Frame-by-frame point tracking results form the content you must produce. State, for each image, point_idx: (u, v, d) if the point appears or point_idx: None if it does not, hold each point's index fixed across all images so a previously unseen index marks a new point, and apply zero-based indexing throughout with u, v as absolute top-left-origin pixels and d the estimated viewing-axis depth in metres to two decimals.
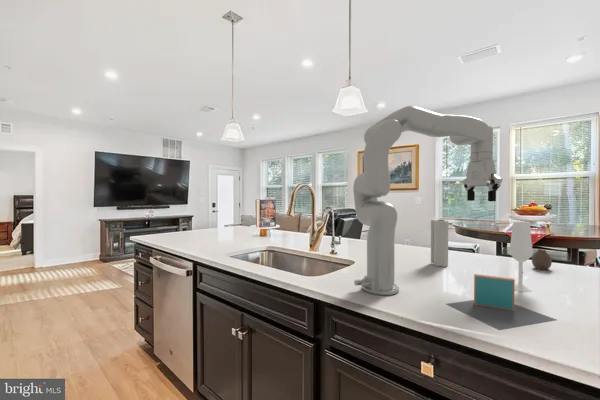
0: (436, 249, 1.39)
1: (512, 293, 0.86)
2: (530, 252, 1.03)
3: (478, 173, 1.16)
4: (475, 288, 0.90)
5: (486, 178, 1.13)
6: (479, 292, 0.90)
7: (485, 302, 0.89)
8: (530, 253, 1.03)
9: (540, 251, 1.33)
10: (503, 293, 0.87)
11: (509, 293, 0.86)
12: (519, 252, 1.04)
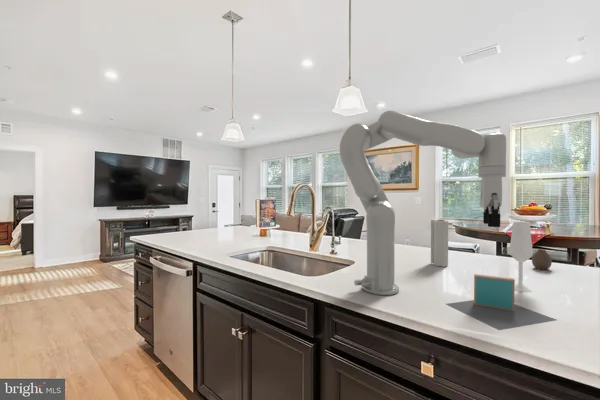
0: (436, 249, 1.39)
1: (512, 293, 0.86)
2: (530, 252, 1.03)
3: (482, 192, 0.97)
4: (475, 288, 0.90)
5: (484, 198, 0.94)
6: (479, 292, 0.90)
7: (485, 302, 0.89)
8: (530, 253, 1.03)
9: (540, 251, 1.33)
10: (503, 293, 0.87)
11: (509, 293, 0.86)
12: (519, 252, 1.04)
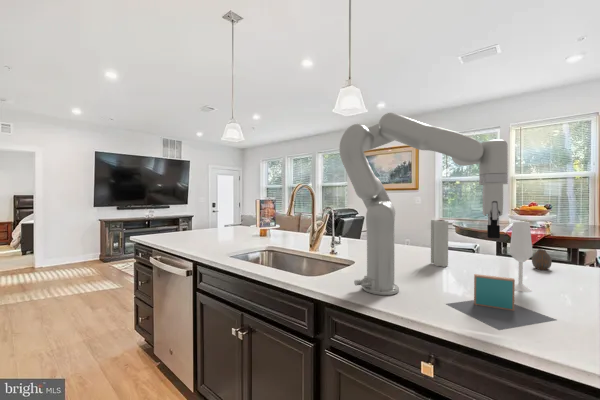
0: (436, 249, 1.39)
1: (512, 293, 0.86)
2: (530, 252, 1.03)
3: (483, 200, 0.94)
4: (475, 288, 0.90)
5: (484, 207, 0.91)
6: (479, 292, 0.90)
7: (485, 302, 0.89)
8: (530, 253, 1.03)
9: (540, 251, 1.33)
10: (503, 293, 0.87)
11: (509, 293, 0.86)
12: (519, 252, 1.04)
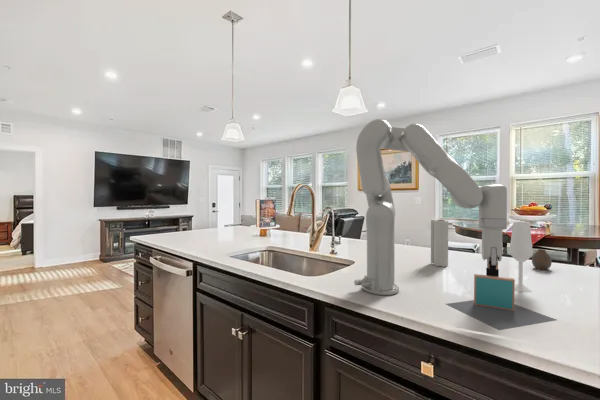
0: (436, 249, 1.39)
1: (512, 293, 0.86)
2: (530, 252, 1.03)
3: (482, 243, 0.95)
4: (475, 288, 0.90)
5: (484, 252, 0.92)
6: (479, 292, 0.90)
7: (485, 302, 0.89)
8: (530, 253, 1.03)
9: (540, 251, 1.33)
10: (503, 293, 0.87)
11: (509, 293, 0.86)
12: (519, 252, 1.04)
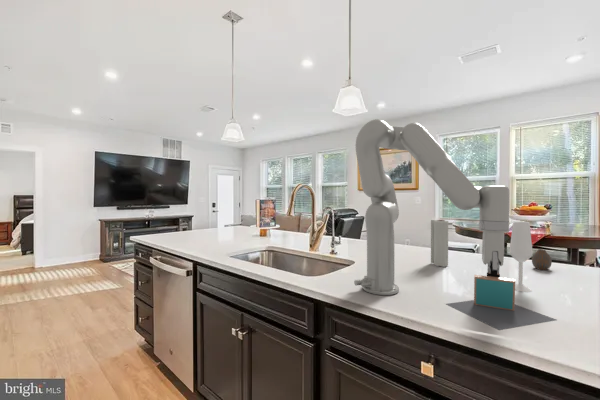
0: (436, 249, 1.39)
1: (512, 294, 0.85)
2: (530, 252, 1.03)
3: (483, 247, 0.90)
4: (475, 289, 0.90)
5: (484, 256, 0.87)
6: (479, 293, 0.89)
7: (485, 302, 0.89)
8: (530, 253, 1.03)
9: (540, 251, 1.33)
10: (503, 294, 0.86)
11: (509, 295, 0.85)
12: (519, 252, 1.04)
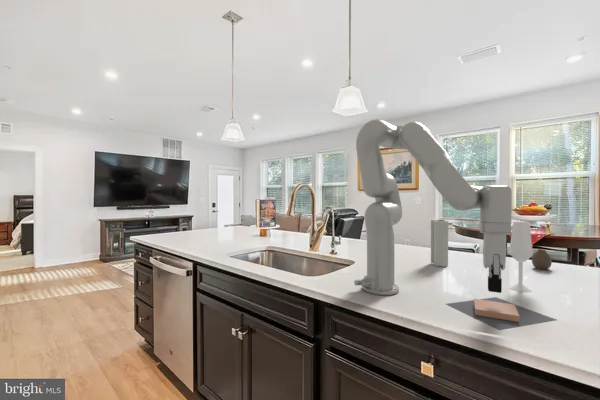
0: (436, 249, 1.39)
1: None
2: (530, 252, 1.03)
3: (483, 250, 0.86)
4: None
5: (485, 259, 0.83)
6: None
7: None
8: (530, 253, 1.03)
9: (540, 251, 1.33)
10: None
11: None
12: (519, 252, 1.04)
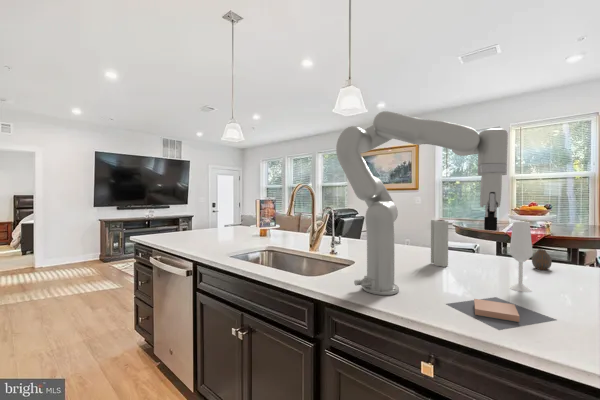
0: (436, 249, 1.39)
1: None
2: (530, 252, 1.03)
3: None
4: None
5: (482, 198, 0.88)
6: None
7: None
8: (530, 253, 1.03)
9: (540, 251, 1.33)
10: None
11: None
12: (519, 252, 1.04)
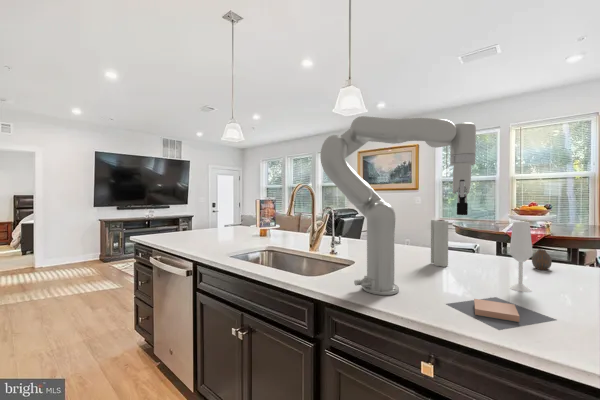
0: (436, 249, 1.39)
1: None
2: (530, 252, 1.03)
3: None
4: None
5: (453, 185, 0.98)
6: None
7: None
8: (530, 253, 1.03)
9: (540, 251, 1.33)
10: None
11: None
12: (519, 252, 1.04)
